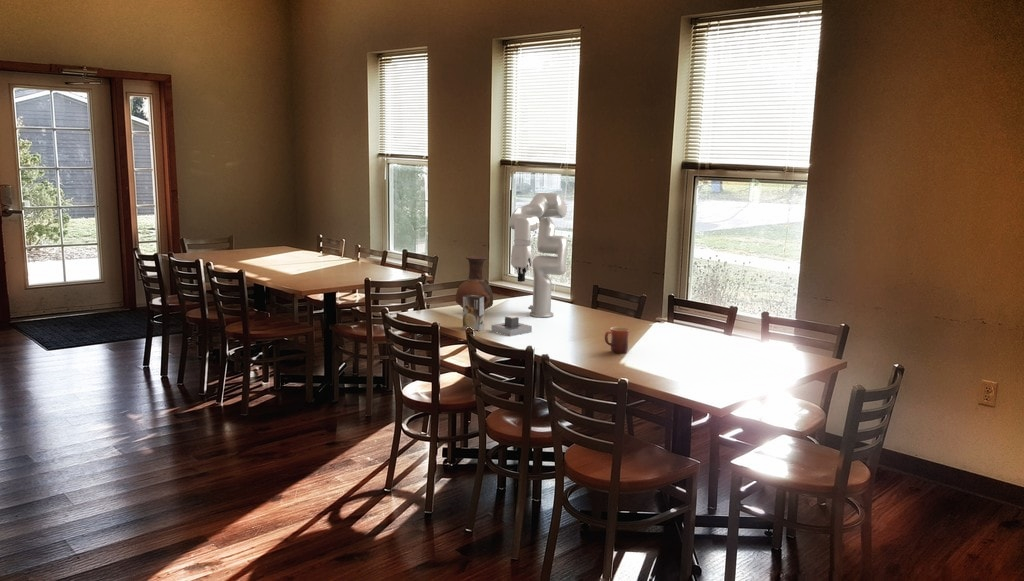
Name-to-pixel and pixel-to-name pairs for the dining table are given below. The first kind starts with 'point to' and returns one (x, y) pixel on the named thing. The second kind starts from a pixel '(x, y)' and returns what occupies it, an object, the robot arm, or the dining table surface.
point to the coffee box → (473, 312)
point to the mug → (618, 339)
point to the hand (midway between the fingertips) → (521, 281)
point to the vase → (475, 283)
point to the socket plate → (511, 329)
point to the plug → (511, 321)
